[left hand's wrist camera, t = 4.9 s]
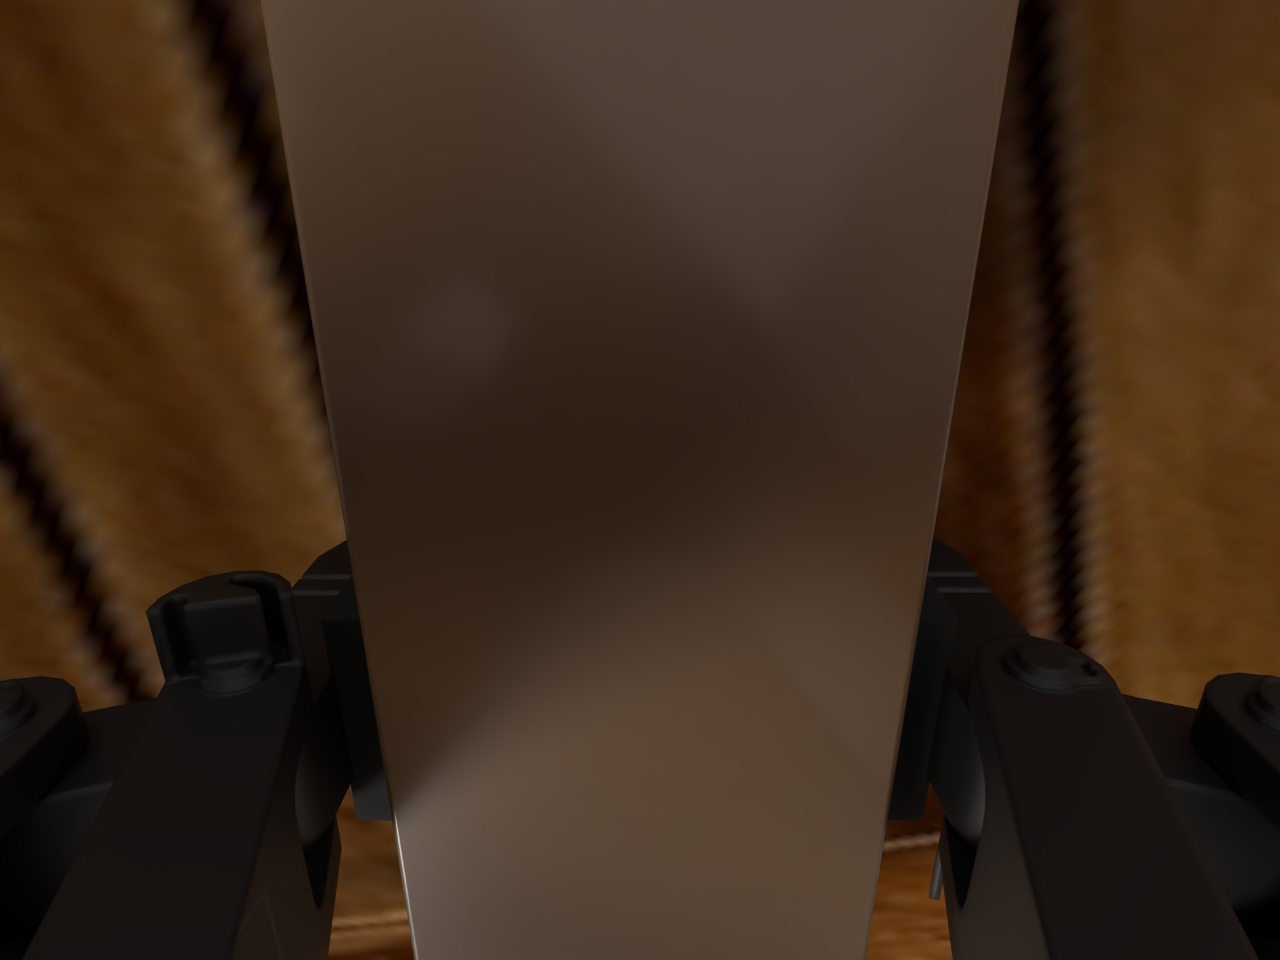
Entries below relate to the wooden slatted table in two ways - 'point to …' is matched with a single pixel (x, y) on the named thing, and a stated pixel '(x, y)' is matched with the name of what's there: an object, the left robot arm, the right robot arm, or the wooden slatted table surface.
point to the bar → (639, 439)
